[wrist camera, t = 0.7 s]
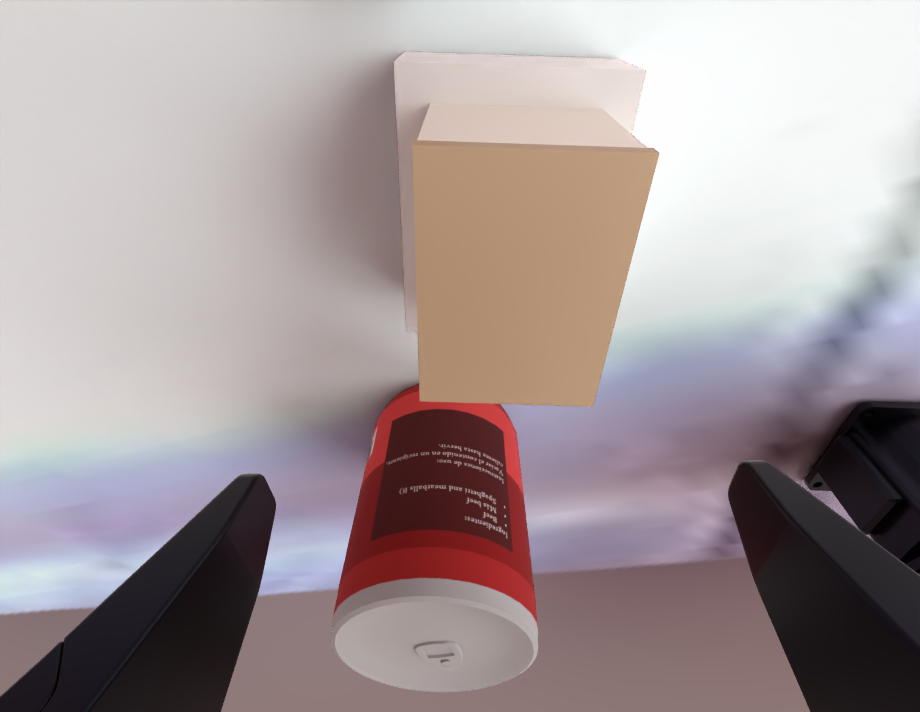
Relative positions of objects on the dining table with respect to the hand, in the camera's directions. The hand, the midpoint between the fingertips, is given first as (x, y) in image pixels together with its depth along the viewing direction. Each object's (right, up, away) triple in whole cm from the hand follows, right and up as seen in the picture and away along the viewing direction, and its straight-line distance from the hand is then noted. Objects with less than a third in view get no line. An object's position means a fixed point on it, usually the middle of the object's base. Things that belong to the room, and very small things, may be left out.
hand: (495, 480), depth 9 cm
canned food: (-1, -2, +17) cm, 17 cm away
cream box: (+1, +7, +7) cm, 10 cm away
